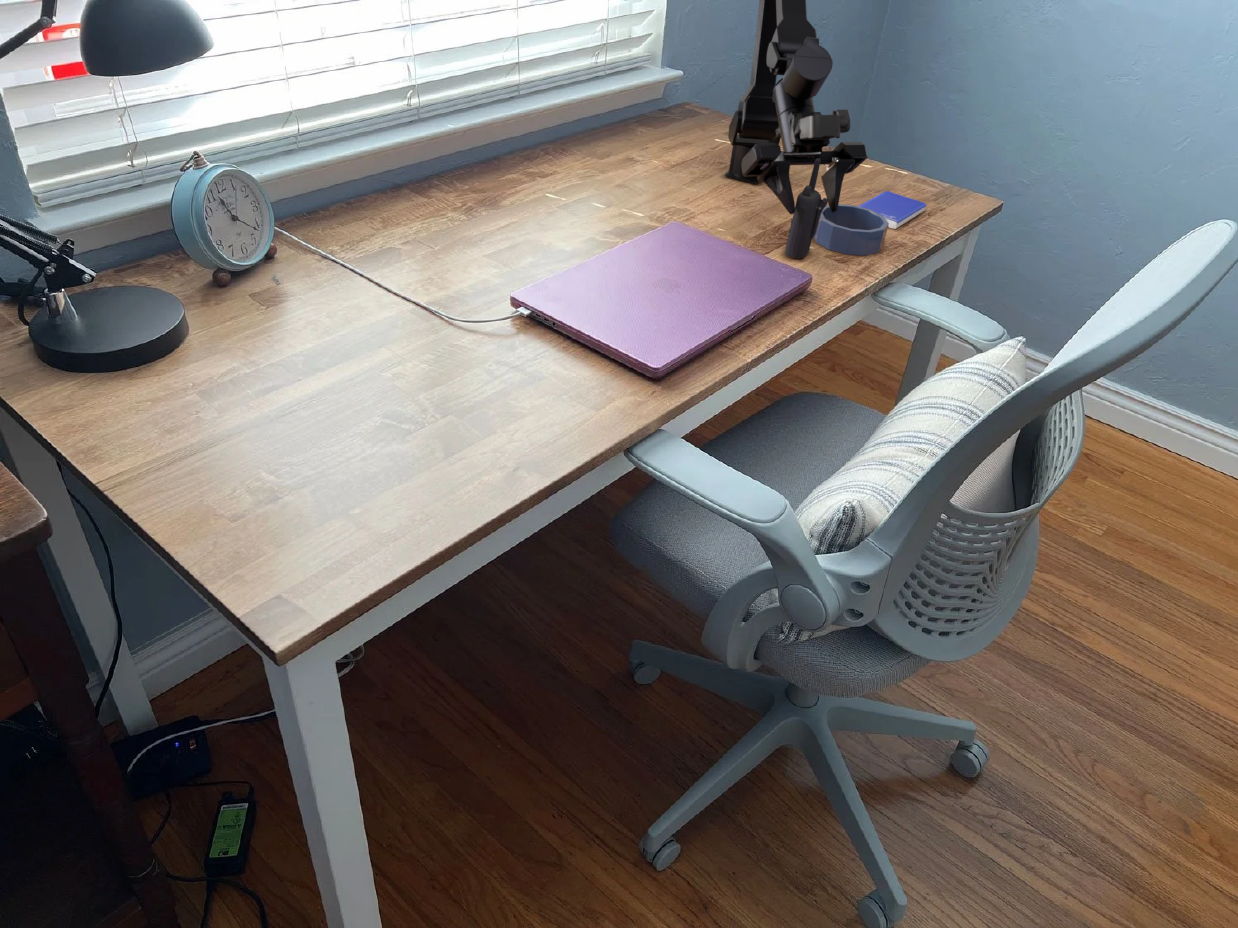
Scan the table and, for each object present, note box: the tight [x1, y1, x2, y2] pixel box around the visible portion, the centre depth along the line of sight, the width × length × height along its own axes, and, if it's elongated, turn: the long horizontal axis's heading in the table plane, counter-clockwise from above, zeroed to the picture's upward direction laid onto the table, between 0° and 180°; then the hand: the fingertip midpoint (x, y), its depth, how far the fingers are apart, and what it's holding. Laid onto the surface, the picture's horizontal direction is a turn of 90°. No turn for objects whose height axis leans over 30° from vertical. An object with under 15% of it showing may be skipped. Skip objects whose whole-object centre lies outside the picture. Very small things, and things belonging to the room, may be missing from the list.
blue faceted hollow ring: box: [813, 203, 889, 257], centre depth 155 cm, size 11×11×4 cm
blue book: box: [858, 190, 928, 230], centre depth 167 cm, size 2×8×12 cm
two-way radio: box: [784, 158, 828, 260], centre depth 145 cm, size 6×4×15 cm
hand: (813, 212), depth 144 cm, fingers open, 7 cm apart
